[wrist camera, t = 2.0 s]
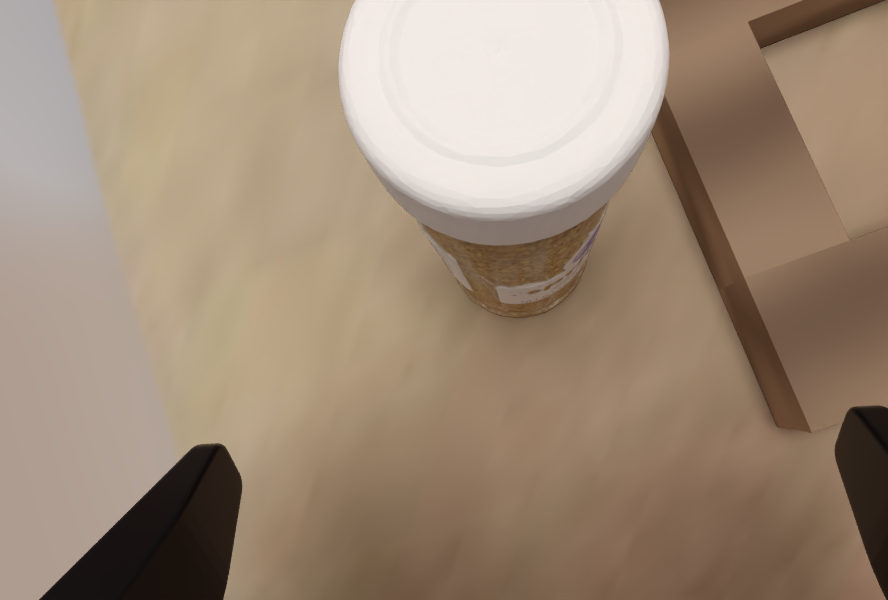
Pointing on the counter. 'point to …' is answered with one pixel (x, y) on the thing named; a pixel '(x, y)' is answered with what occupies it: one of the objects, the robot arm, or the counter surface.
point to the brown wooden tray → (772, 212)
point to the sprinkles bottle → (505, 127)
